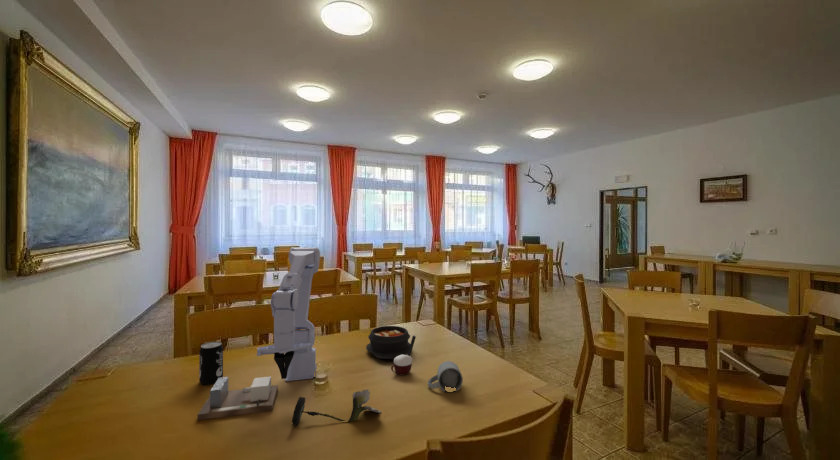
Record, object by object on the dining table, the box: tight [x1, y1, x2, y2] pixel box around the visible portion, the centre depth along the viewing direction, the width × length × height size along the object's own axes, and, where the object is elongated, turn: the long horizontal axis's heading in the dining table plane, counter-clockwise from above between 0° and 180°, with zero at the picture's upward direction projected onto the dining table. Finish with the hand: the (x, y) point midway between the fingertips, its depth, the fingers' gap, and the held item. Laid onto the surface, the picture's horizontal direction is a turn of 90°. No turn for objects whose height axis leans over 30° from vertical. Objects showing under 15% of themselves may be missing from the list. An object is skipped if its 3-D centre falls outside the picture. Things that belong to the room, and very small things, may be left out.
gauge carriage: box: [242, 376, 272, 405], centre depth 96 cm, size 7×9×4 cm
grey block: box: [209, 376, 229, 409], centre depth 95 cm, size 2×8×5 cm, turn 16°
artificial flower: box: [291, 389, 383, 426], centre depth 90 cm, size 9×22×10 cm, turn 95°
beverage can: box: [198, 341, 224, 386], centre depth 110 cm, size 7×7×12 cm
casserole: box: [365, 325, 411, 360], centre depth 138 cm, size 25×19×8 cm
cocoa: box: [390, 335, 417, 376], centre depth 118 cm, size 10×6×12 cm, turn 103°
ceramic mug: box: [427, 360, 464, 392], centre depth 108 cm, size 11×8×8 cm
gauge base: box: [197, 384, 279, 421], centre depth 96 cm, size 18×12×2 cm, turn 106°
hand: (284, 377), depth 99 cm, fingers closed
